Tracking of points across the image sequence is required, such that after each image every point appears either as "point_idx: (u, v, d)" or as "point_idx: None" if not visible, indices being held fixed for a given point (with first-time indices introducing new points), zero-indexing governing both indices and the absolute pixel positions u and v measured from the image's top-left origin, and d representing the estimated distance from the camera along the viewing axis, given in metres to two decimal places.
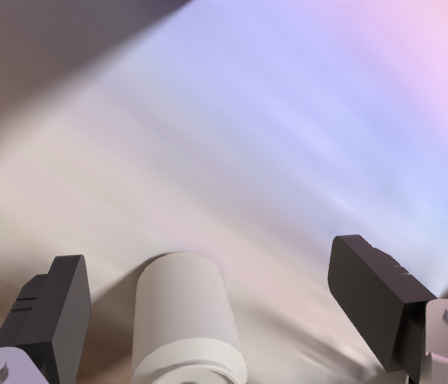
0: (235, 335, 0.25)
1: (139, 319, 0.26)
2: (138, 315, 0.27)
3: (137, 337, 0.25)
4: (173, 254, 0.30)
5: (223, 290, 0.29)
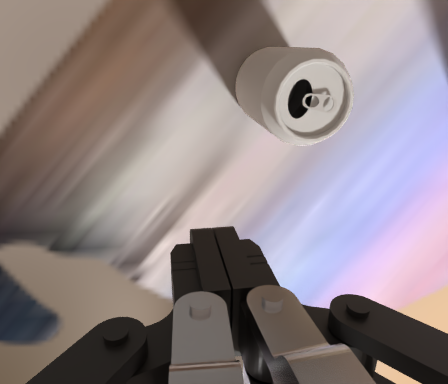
0: None
1: None
2: None
3: None
4: (307, 81, 0.38)
5: None
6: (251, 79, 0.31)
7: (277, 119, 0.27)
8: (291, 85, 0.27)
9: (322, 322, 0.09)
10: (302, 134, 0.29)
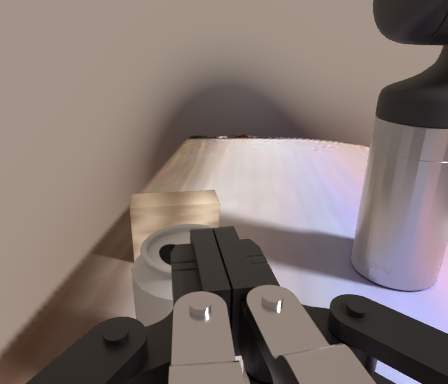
0: None
1: None
2: None
3: None
4: None
5: None
6: None
7: (159, 268, 0.22)
8: (157, 251, 0.24)
9: (322, 322, 0.09)
10: None
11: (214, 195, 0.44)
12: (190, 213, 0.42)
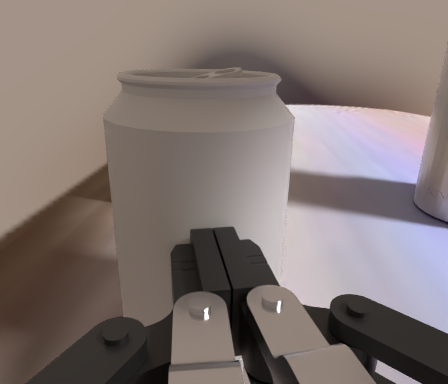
0: (287, 161, 0.14)
1: None
2: None
3: None
4: None
5: (278, 268, 0.16)
6: None
7: (144, 78, 0.12)
8: None
9: (322, 322, 0.09)
10: (224, 93, 0.12)
11: None
12: None
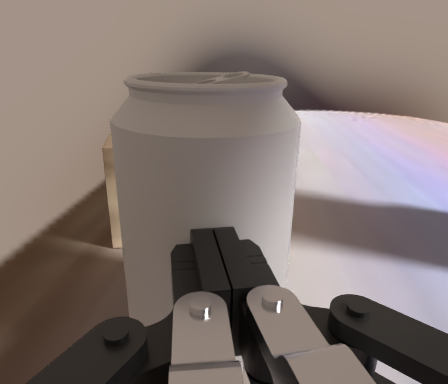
0: (290, 168, 0.14)
1: None
2: None
3: None
4: None
5: (281, 276, 0.15)
6: None
7: (145, 83, 0.12)
8: None
9: (322, 322, 0.09)
10: (224, 98, 0.12)
11: None
12: None
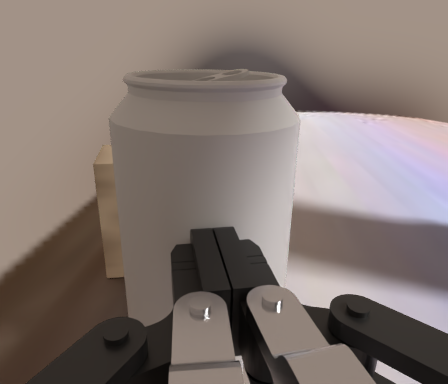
0: (290, 165, 0.14)
1: None
2: None
3: None
4: None
5: (280, 273, 0.15)
6: None
7: (145, 80, 0.12)
8: None
9: (322, 322, 0.09)
10: (224, 95, 0.12)
11: None
12: None
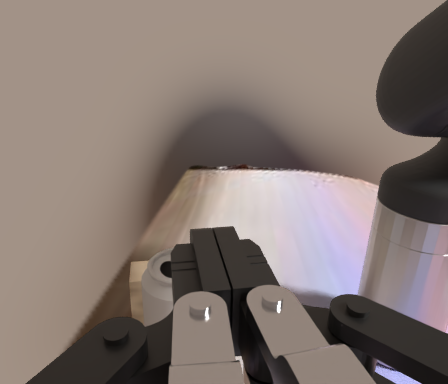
0: None
1: None
2: None
3: None
4: None
5: None
6: None
7: (156, 278, 0.33)
8: (159, 265, 0.36)
9: (322, 322, 0.09)
10: None
11: None
12: None
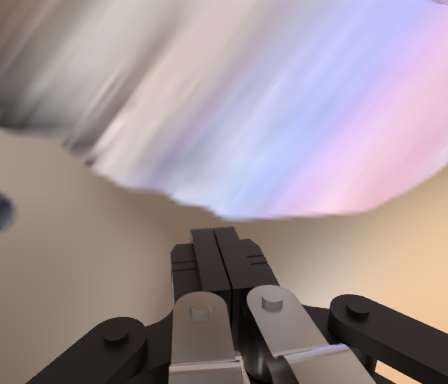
0: None
1: None
2: None
3: None
4: None
5: None
6: None
7: None
8: None
9: (322, 322, 0.09)
10: None
11: None
12: None
